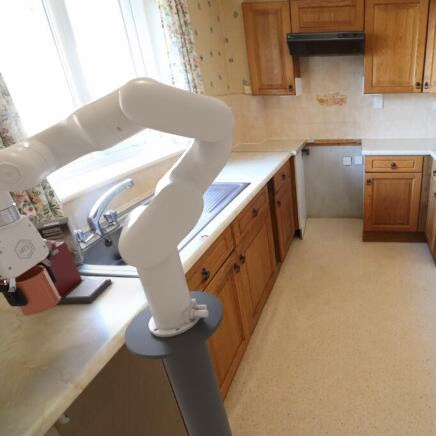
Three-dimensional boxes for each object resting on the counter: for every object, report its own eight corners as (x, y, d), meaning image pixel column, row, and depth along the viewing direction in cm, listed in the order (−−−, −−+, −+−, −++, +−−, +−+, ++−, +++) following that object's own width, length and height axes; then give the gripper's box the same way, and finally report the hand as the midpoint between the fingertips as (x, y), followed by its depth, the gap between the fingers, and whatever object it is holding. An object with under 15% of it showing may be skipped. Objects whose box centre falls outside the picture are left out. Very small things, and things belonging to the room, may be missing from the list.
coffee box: (51, 272, 109) (31, 230, 102) (53, 264, 114) (34, 223, 107) (84, 263, 113) (66, 222, 106) (84, 255, 118) (68, 216, 111)
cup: (68, 293, 73) (53, 264, 70) (44, 314, 67) (26, 283, 63) (38, 295, 73) (22, 265, 70) (12, 316, 67) (-7, 285, 64)
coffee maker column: (85, 283, 102) (64, 236, 95) (61, 304, 93) (36, 253, 86) (66, 283, 102) (45, 236, 95) (41, 304, 93) (14, 254, 86)
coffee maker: (112, 282, 102) (95, 241, 96) (90, 303, 93) (71, 259, 86) (83, 283, 102) (65, 242, 96) (59, 304, 93) (37, 260, 87)
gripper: (-34, 239, 53) (16, 321, 61) (48, 200, 69) (80, 269, 77) (-78, 241, 53) (-22, 323, 61) (14, 201, 69) (49, 270, 77)
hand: (35, 292), depth 69 cm, fingers closed on cup, 6 cm apart
